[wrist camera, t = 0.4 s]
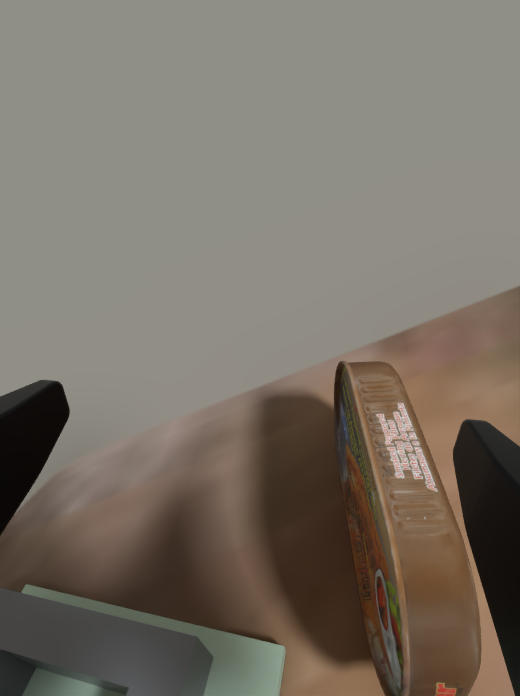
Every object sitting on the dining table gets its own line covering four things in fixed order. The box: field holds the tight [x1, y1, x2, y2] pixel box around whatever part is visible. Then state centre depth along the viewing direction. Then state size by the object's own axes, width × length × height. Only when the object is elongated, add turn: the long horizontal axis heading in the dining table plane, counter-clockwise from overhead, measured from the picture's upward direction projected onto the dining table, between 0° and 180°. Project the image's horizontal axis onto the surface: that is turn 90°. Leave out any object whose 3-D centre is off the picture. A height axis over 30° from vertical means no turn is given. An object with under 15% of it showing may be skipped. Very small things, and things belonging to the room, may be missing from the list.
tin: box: [334, 361, 481, 696], centre depth 19 cm, size 15×3×8 cm, turn 179°
